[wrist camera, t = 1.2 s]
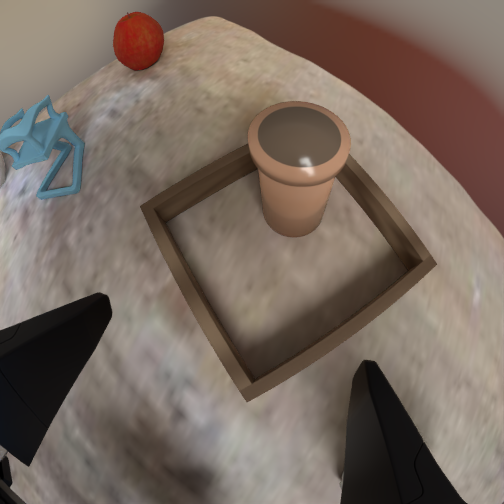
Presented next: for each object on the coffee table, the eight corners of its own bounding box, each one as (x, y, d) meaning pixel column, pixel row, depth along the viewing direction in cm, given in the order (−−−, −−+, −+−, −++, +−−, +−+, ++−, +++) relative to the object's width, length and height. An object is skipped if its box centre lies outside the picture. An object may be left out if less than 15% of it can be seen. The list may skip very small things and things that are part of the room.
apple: (177, 60, 35) (159, 5, 25) (129, 84, 34) (103, 32, 24) (164, 44, 38) (147, -2, 27) (121, 65, 37) (99, 20, 27)
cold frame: (421, 273, 22) (437, 264, 19) (250, 395, 20) (246, 402, 18) (307, 134, 28) (309, 114, 25) (152, 220, 26) (139, 206, 23)
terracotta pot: (341, 218, 24) (371, 148, 15) (283, 254, 24) (287, 194, 14) (300, 169, 26) (308, 90, 17) (245, 200, 26) (228, 124, 16)
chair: (98, 139, 31) (53, 76, 20) (78, 193, 28) (17, 133, 17) (58, 150, 32) (13, 98, 20) (39, 200, 29) (-19, 152, 18)
